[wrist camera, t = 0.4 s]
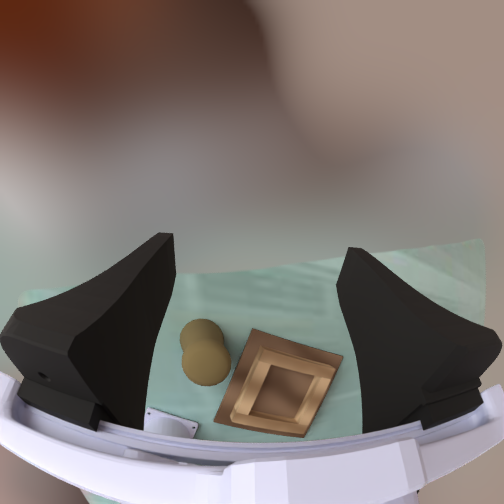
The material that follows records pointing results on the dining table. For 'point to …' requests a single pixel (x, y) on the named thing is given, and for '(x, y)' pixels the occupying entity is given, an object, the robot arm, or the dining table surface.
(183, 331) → the cork
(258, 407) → the socket block
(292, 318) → the dining table surface
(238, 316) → the dining table surface
